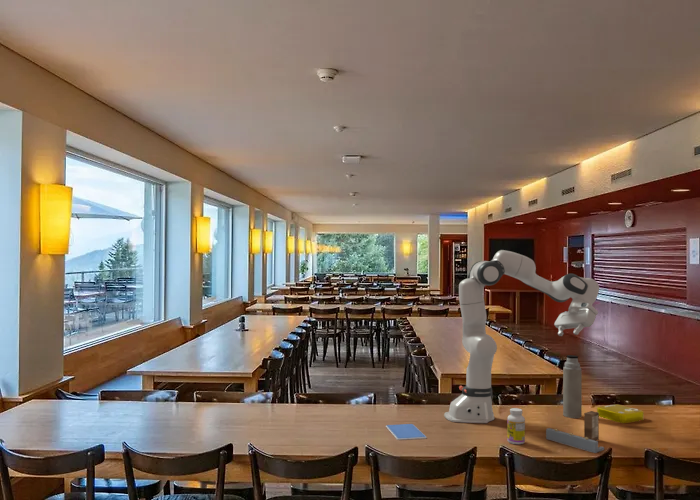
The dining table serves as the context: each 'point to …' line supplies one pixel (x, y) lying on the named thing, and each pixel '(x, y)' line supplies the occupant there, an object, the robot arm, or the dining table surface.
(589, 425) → the brown rectangular box
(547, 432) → the rail
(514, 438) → the supplement bottle
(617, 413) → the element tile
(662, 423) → the dining table surface
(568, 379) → the thermos bottle
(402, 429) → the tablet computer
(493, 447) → the dining table surface
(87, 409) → the dining table surface
